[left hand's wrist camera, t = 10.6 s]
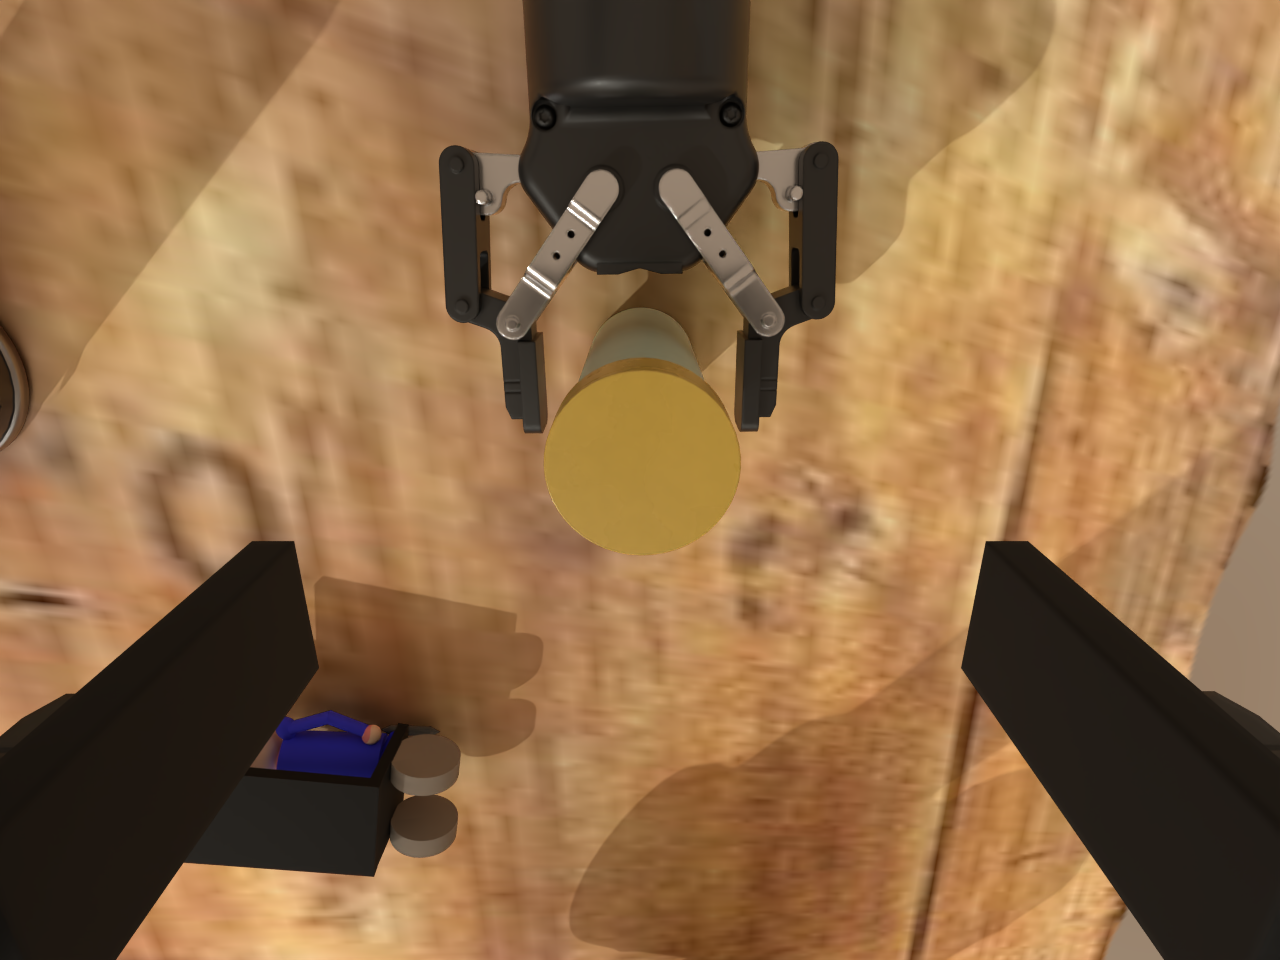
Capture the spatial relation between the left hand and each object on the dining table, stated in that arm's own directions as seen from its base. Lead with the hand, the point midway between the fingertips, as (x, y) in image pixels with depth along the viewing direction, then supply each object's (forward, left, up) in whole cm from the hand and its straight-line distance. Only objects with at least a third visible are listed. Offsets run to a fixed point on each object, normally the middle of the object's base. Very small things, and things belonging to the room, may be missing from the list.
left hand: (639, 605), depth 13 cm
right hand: (0, +1, -16) cm, 16 cm away
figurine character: (+13, +26, -23) cm, 36 cm away
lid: (0, 0, -8) cm, 8 cm away
